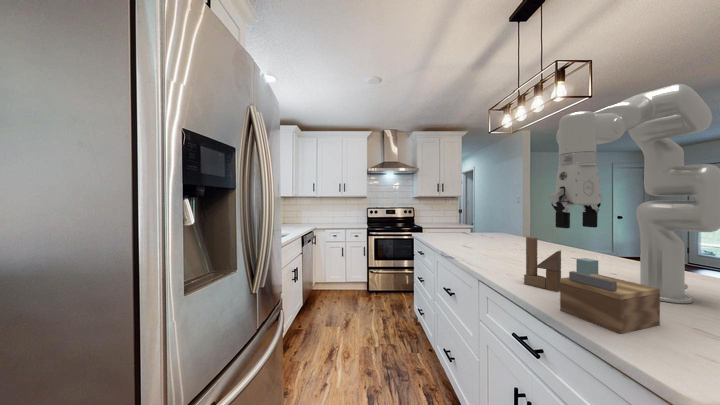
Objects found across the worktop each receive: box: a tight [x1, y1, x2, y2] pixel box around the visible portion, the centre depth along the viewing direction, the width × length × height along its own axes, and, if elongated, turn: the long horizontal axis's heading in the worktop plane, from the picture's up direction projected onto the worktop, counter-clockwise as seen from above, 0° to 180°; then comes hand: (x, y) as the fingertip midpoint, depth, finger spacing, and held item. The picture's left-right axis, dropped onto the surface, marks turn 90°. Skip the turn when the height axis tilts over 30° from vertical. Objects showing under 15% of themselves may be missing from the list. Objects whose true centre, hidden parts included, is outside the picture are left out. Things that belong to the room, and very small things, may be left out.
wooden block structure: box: [523, 236, 562, 293], centre depth 96 cm, size 4×11×18 cm, turn 35°
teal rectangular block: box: [575, 257, 599, 275], centre depth 87 cm, size 4×4×12 cm
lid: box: [560, 270, 660, 300], centre depth 71 cm, size 15×14×4 cm
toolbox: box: [559, 283, 661, 335], centre depth 71 cm, size 15×14×8 cm
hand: (576, 227), depth 68 cm, fingers open, 9 cm apart
